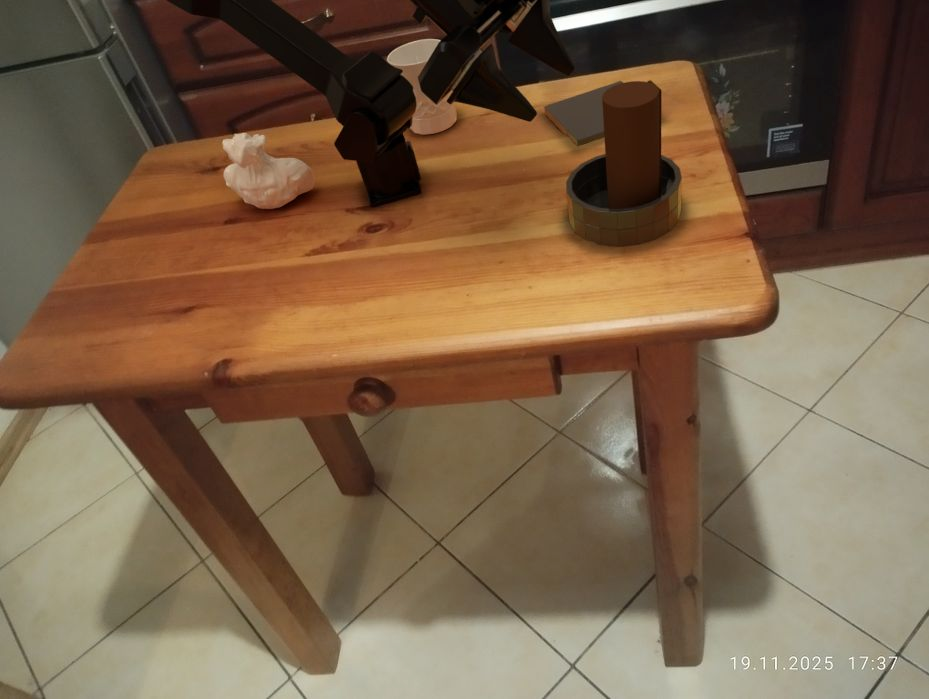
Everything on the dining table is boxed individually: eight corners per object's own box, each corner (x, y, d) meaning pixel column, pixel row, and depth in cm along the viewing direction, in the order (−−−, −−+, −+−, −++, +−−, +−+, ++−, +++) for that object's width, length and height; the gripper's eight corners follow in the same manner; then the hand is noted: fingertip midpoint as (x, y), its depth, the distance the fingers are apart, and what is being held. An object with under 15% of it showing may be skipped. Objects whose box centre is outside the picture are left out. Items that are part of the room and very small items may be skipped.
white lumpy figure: (242, 219, 91) (187, 191, 80) (246, 164, 92) (191, 129, 81) (324, 213, 88) (278, 183, 77) (326, 157, 88) (281, 119, 78)
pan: (591, 262, 66) (588, 224, 63) (556, 205, 75) (551, 169, 71) (699, 229, 67) (701, 190, 64) (652, 176, 75) (652, 139, 72)
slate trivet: (577, 149, 82) (577, 140, 81) (544, 114, 90) (543, 106, 89) (661, 121, 83) (661, 112, 82) (621, 89, 91) (621, 80, 90)
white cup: (398, 123, 97) (378, 53, 90) (448, 103, 98) (432, 33, 91) (418, 143, 91) (399, 71, 84) (470, 122, 92) (455, 49, 86)
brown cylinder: (619, 233, 68) (614, 112, 59) (602, 208, 71) (594, 90, 63) (669, 219, 68) (670, 95, 59) (648, 194, 72) (647, 75, 63)
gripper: (413, -65, 50) (566, 83, 53) (520, -137, 61) (643, -10, 63) (362, 42, 59) (494, 164, 62) (462, -36, 70) (571, 71, 72)
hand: (554, 94), depth 64 cm, fingers open, 9 cm apart
